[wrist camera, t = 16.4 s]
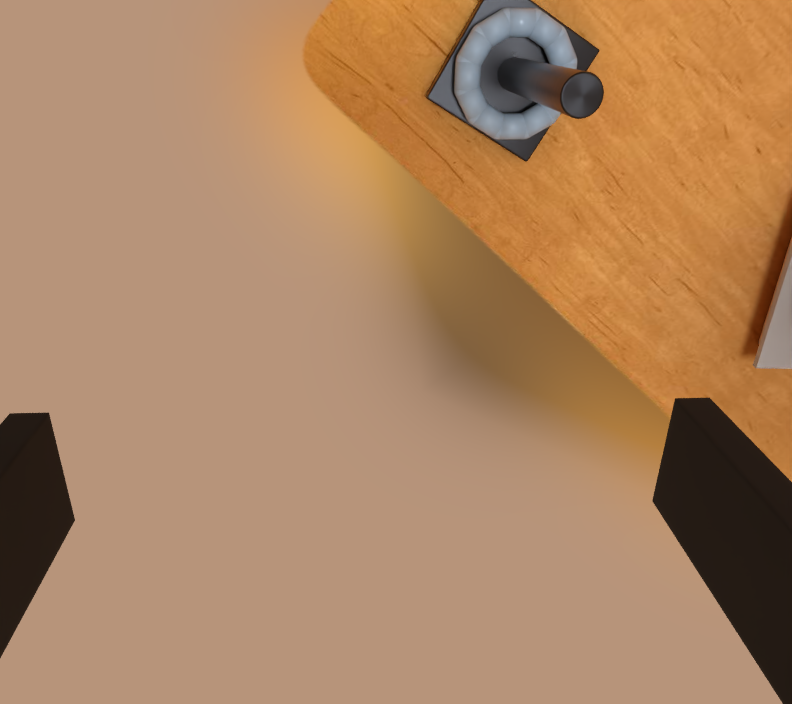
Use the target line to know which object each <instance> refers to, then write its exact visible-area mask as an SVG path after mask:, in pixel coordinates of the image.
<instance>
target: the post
mask: <svg viewBox="0 0 792 704" xmlns="http://www.w3.org/2000/svg"><path fill="white" fill-rule="evenodd" d="M503 8H537V9H539V10H541V11H543V12H544V13H545V14H547V15H548V16H550V17H551V18H552V19H554V20H555V21H556V22H558V23H559V24H561V25H562V26H563V27H564V28H565V29H566V31H567V34H568V36H569V39H570V41H571V44H572V46H573V49H574V51H575V54H576V57H577V69H572V68H567V67H562V66H557V65H552V64H549V61H548V59H547V56H546V54H545V51H544V49H543V48H542V47H541V46H539V45H538V44H537V43H535V42H534V41H532V40H531V39H529V38H528V37H509V38H507V39H505V40H504V41H502V42H500V43H499V44H497V45H495V46H494V47H492V48H491V50H490V52H489V53H488V55H487V57H486V59H485V60H484V62H483V64H482V65H481V78H480V87H481V89H482V92H483V94H484V96H485V98H486V100H487V102H488V104H490V105H491V106H493V107H494V108H496V109H497V110H499V111H500V112H502V113H522V112H524V111H526V110H527V109H529V108H531V107H533V106H534V105H536V104H538V103H539V104H541V105H543V106H546V107H548V108H551V109H553V110H555V111H558V112H560V113H563V114H565V115H568V116H570V117H572V118H577V119H581V118H586V117H588V116H590V115H592V114H593V113H594V112H595V111H596V110H597V109H598V108H599V106H600V105H601V102H602V99H603V94H604V90H603V85H602V82H601V80H600V79H599V78H598V77H597V76H596V75H595V74H593V73H591V72H587V69H588V68H589V66H590V65H591V63H592V62H593V60H594V58H595V57H596V55H597V54H598V52H599V49H598V48H596V47H595V46H593V45H592V44H591V43H589V42H588V41H587V40H585V39H584V38H582V37H581V36H580V35H578V34H577V33H575V32H574V31H573V30H571V29H570V28H569V27H567V26H566V25H564V24H563V23H562V22H560V21H559V20H557V19H556V18H555V17H553V16H552V15H551V14H549V13H548V12H546V11H545V10H544V9H542V8H541V7H539V6H538V5H537V4H535V3H534V2H533V1H531V0H480V2H479V3H478V5H477V7H476V9H475V10H474V12H473V14H472V16H471V17H470V19H469V21H468V23H467V24H466V26H465V28H464V29H463V31H462V33H461V35H460V36H459V38H458V40H457V42H456V43H455V45H454V47H453V49H452V50H451V52H450V54H449V56H448V57H447V59H446V61H445V63H444V64H443V66H442V68H441V70H440V71H439V73H438V75H437V77H436V78H435V80H434V82H433V83H432V85H431V87H430V89H429V90H428V92H427V94H426V98H427V99H429V100H430V101H432V102H433V103H435V104H437V105H438V106H440V107H441V108H443V109H444V110H446V111H448V112H449V113H451V114H452V115H454V116H455V117H457V118H458V119H460V120H462V121H463V122H465V123H466V124H468V125H469V126H471V127H473V128H474V129H476V130H477V131H479V132H480V133H482V134H484V135H485V136H487V137H488V138H490V139H491V140H493V141H494V142H496V143H498V144H499V145H501V146H502V147H504V148H505V149H507V150H509V151H510V152H512V153H513V154H515V155H516V156H518V157H520V158H521V159H523V160H524V161H528V159H529V158H530V156H531V155H532V153H533V152H534V150H535V149H536V147H537V146H538V144H539V143H540V141H541V140H542V138H543V136H544V135H545V133H546V132H547V130H548V129H549V127H550V126H549V127H547V128H545V129H544V130H542V131H540V132H538V133H537V134H535V135H533V136H531V137H530V138H528V139H494V138H492V137H490V136H489V135H487V134H486V133H484V132H482V131H481V130H479V129H478V128H476V127H475V126H473V125H471V124H470V123H469V122H468V120H467V119H466V117H465V115H464V112H463V110H462V108H461V106H460V104H459V102H458V100H457V98H456V96H455V93H454V81H455V61H456V57H457V54H458V53H459V51H460V49H461V47H462V46H463V44H464V42H465V41H466V39H467V37H468V35H469V34H470V32H471V30H472V29H473V27H474V26H475V25H477V24H478V23H480V22H481V21H483V20H485V19H486V18H488V17H490V16H491V15H493V14H495V13H496V12H498V11H500V10H501V9H503Z"/></svg>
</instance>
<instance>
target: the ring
mask: <svg viewBox="0 0 792 704" xmlns="http://www.w3.org/2000/svg"><path fill="white" fill-rule="evenodd" d="M509 37H528V38H529V39H531V40H532V41H534V42H535V43H537V44H538V45H539V46H541V47H542V48H543V49H544V51H545V54H546V56H547V59H548V61H549V64H552V65H557V66H562V67H567V68H572V69H577V57H576V54H575V51H574V49H573V46H572V44H571V41H570V39H569V36H568V34H567V31H566V29H565V28H564V27H563V26H562V25H561V24H559V23H558V22H556V21H555V20H554V19H552V18H551V17H550V16H548V15H547V14H545V13H544V12H543V11H541V10H539V9H537V8H503V9H501V10H500V11H498V12H496V13H495V14H493V15H491V16H490V17H488V18H486V19H485V20H483V21H481V22H480V23H478V24H477V25H475V26H474V27H473V29H472V30H471V32H470V34H469V35H468V37H467V39H466V41H465V42H464V44H463V46H462V47H461V49H460V51H459V53H458V54H457V57H456V61H455V81H454V93H455V96H456V98H457V100H458V102H459V104H460V106H461V108H462V110H463V112H464V115H465V117H466V119H467V120H468V122H469V123H470V124H471V125H473V126H475V127H476V128H478V129H479V130H481V131H482V132H484V133H486V134H487V135H489V136H490V137H492V138H494V139H528V138H530V137H531V136H533V135H535V134H537V133H538V132H540V131H542V130H544V129H545V128H547V127H549V126H551V125H552V124H554V123H555V122H556V120H557V119H558V117H559V116H560V114H561V113H560V112H558V111H555V110H553V109H551V108H548V107H546V106H543V105H541V104H539V103H538V104H536V105H534V106H533V107H531V108H529V109H527V110H526V111H524V112H522V113H502V112H500V111H499V110H497V109H496V108H494V107H493V106H491V105H490V104H488V102H487V100H486V98H485V96H484V94H483V92H482V89H481V87H480V78H481V65H482V64H483V62H484V60H485V59H486V57H487V55H488V53H489V52H490V50H491V48H492V47H494V46H495V45H497V44H499V43H500V42H502V41H504V40H505V39H507V38H509Z"/></svg>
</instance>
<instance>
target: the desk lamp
mask: <svg viewBox="0 0 792 704" xmlns="http://www.w3.org/2000/svg"><path fill="white" fill-rule="evenodd" d="M758 343H759V347H758V350H757V354H756V357H755V360H754V363H753V366H754V367H755V368H776V369H792V237H791V240H790V244H789V247H788V250H787V253H786V256H785V260H784V263H783V266H782V269H781V272H780V275H779V279H778V282H777V285H776V288H775V291H774V295H773V298H772V301H771V304H770V307H769V311H768V314H767V317H766V320H765V323H764V326H763V330H762V333H761V336H760V339H759V342H758Z"/></svg>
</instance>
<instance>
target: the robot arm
mask: <svg viewBox="0 0 792 704" xmlns="http://www.w3.org/2000/svg"><path fill="white" fill-rule="evenodd" d="M653 502H654V504H655V506H656V507H657V509H658V510H659V512H660V513H661V515H662V517H663V518H664V520H665V521H666V523H667V524H668V526H669V528H670V529H671V531H672V532H673V534H674V535H675V537H676V538H677V540H678V542H679V543H680V545H681V546H682V548H683V549H684V551H685V552H686V554H687V556H688V557H689V559H690V560H691V562H692V563H693V565H694V566H695V568H696V569H697V571H698V573H699V574H700V576H701V577H702V579H703V580H704V582H705V583H706V585H707V587H708V588H709V590H710V591H711V593H712V594H713V596H714V597H715V599H716V600H717V602H718V604H719V605H720V607H721V608H722V610H723V611H724V613H725V614H726V616H727V618H728V619H729V621H730V622H731V624H732V625H733V627H734V628H735V630H736V632H737V633H738V635H739V636H740V638H741V639H742V641H743V642H744V644H745V645H746V647H747V649H748V650H749V652H750V653H751V655H752V656H753V658H754V660H755V661H756V663H757V664H758V665H759V667H760V669H761V670H762V672H763V673H764V675H765V677H766V678H767V680H768V681H769V683H770V684H771V686H772V687H773V689H774V691H775V692H776V694H777V695H778V697H779V698H780V700H781V701H782V703H783V704H792V482H791V481H790V480H789V479H788V478H787V477H786V476H785V475H784V474H783V473H782V472H781V471H780V470H779V469H778V468H777V467H776V466H775V465H774V464H773V463H772V462H771V461H770V460H769V458H768V457H767V456H766V455H765V454H764V453H763V452H762V451H761V450H760V449H759V448H758V447H757V446H756V445H755V444H754V443H753V442H752V441H751V440H750V439H749V438H748V437H747V436H746V435H745V434H744V433H743V432H742V431H741V430H740V429H739V428H738V427H737V426H736V425H735V424H734V423H733V422H732V420H731V419H730V418H729V417H728V416H727V415H726V414H725V413H724V412H723V411H722V410H721V409H720V408H719V407H718V406H717V405H716V404H715V403H714V402H713V401H712V400H711V399H710V398H676V399H675V402H674V406H673V411H672V415H671V420H670V424H669V429H668V433H667V438H666V442H665V447H664V451H663V456H662V460H661V465H660V469H659V474H658V478H657V483H656V487H655V492H654V496H653ZM74 521H75V519H74V515H73V510H72V506H71V502H70V498H69V494H68V490H67V486H66V482H65V477H64V474H63V469H62V465H61V461H60V457H59V453H58V449H57V444H56V440H55V436H54V432H53V428H52V424H51V420H50V415H49V413H14V414H9V415H8V416H7V418H6V419H5V420H4V421H3V422H2V423H1V424H0V658H1V656H2V654H3V652H4V650H5V648H6V647H7V645H8V643H9V641H10V639H11V637H12V635H13V633H14V632H15V630H16V628H17V626H18V624H19V623H20V621H21V619H22V617H23V615H24V613H25V611H26V610H27V608H28V606H29V604H30V602H31V600H32V599H33V597H34V595H35V593H36V591H37V589H38V587H39V586H40V584H41V582H42V580H43V578H44V576H45V574H46V572H47V571H48V569H49V567H50V565H51V563H52V562H53V560H54V558H55V556H56V554H57V552H58V550H59V549H60V547H61V545H62V543H63V541H64V539H65V538H66V536H67V534H68V532H69V530H70V528H71V526H72V525H73V523H74Z"/></svg>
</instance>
